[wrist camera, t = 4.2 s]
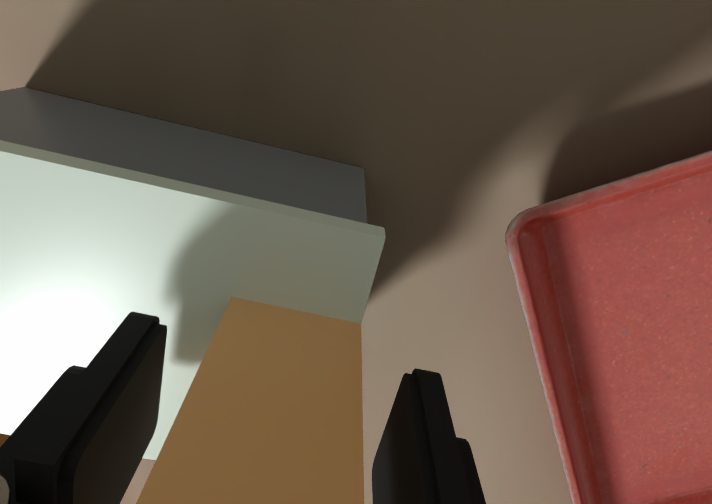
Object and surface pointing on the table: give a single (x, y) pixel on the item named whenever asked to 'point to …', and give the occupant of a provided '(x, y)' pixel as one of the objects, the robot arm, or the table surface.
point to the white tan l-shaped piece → (194, 322)
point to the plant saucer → (625, 331)
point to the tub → (181, 153)
